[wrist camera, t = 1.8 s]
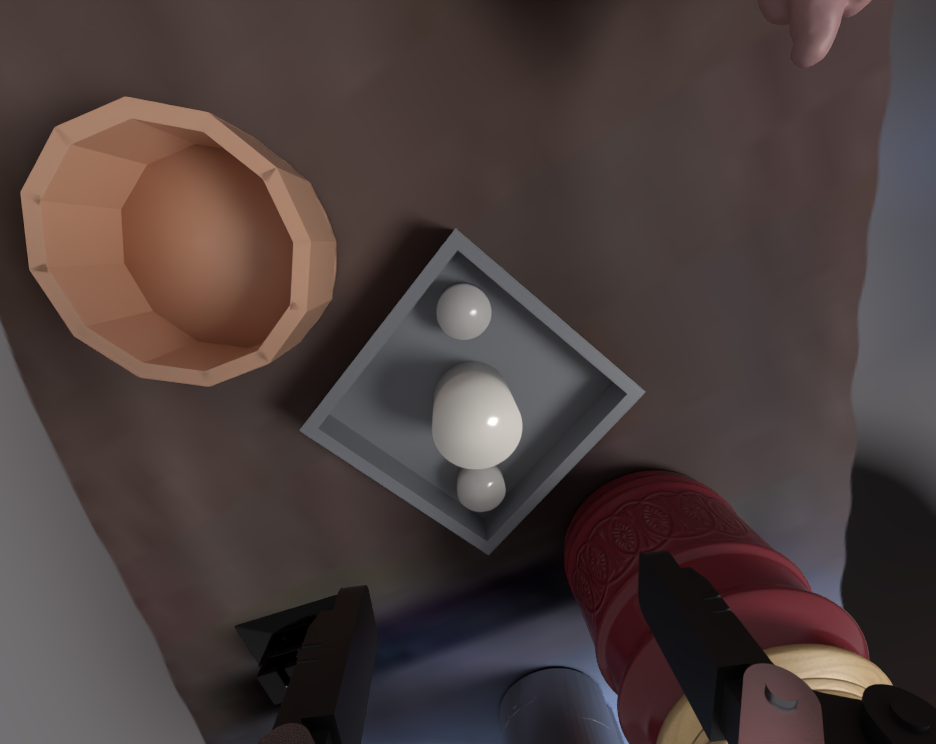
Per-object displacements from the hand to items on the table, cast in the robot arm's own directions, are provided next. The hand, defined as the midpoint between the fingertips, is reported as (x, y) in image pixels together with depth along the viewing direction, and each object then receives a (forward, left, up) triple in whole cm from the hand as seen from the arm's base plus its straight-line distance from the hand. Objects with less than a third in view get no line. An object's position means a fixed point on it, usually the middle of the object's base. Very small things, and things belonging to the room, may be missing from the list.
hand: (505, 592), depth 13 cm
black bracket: (-3, +24, -18) cm, 30 cm away
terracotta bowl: (+17, +2, -17) cm, 24 cm away
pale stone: (0, 0, -17) cm, 17 cm away
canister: (-18, +1, -17) cm, 25 cm away
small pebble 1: (+4, -4, -17) cm, 18 cm away
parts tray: (0, 0, -17) cm, 17 cm away
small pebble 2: (-4, +4, -17) cm, 18 cm away
